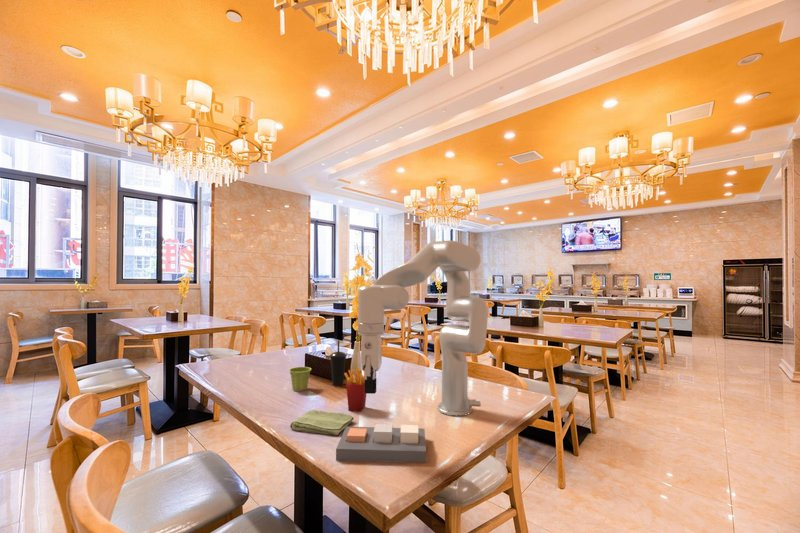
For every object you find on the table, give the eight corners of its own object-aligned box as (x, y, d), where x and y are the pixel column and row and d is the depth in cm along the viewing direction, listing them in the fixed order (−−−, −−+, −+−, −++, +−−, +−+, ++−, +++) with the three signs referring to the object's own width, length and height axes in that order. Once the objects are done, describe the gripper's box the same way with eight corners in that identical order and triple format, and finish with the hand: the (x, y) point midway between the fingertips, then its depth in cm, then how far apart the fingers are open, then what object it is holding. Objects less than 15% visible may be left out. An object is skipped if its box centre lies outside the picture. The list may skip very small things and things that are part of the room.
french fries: (362, 412, 125) (363, 371, 125) (341, 411, 126) (341, 369, 127) (369, 404, 133) (370, 365, 134) (349, 402, 135) (350, 364, 136)
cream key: (418, 436, 101) (418, 425, 101) (418, 444, 96) (418, 432, 96) (400, 435, 101) (401, 424, 101) (400, 444, 96) (400, 432, 96)
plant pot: (294, 385, 156) (294, 366, 157) (314, 386, 155) (314, 367, 155) (284, 392, 147) (285, 371, 147) (305, 393, 146) (306, 372, 146)
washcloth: (339, 438, 105) (339, 428, 105) (287, 431, 110) (288, 421, 110) (355, 422, 118) (355, 412, 118) (308, 416, 122) (308, 407, 123)
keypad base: (424, 438, 105) (424, 428, 105) (426, 462, 91) (426, 451, 91) (346, 436, 106) (346, 426, 106) (335, 460, 92) (336, 448, 92)
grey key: (392, 435, 101) (392, 424, 101) (391, 443, 96) (391, 432, 96) (375, 435, 101) (375, 424, 101) (373, 443, 96) (373, 431, 96)
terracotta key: (366, 439, 101) (367, 428, 101) (364, 447, 96) (364, 436, 96) (349, 439, 101) (350, 428, 102) (346, 447, 96) (346, 435, 97)
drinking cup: (338, 388, 153) (339, 342, 154) (325, 385, 157) (326, 340, 158) (349, 383, 160) (350, 340, 160) (337, 381, 164) (338, 338, 164)
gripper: (380, 333, 92) (380, 402, 92) (386, 325, 107) (386, 384, 107) (353, 332, 93) (352, 401, 92) (362, 325, 108) (362, 384, 107)
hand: (370, 392), depth 99 cm, fingers closed
